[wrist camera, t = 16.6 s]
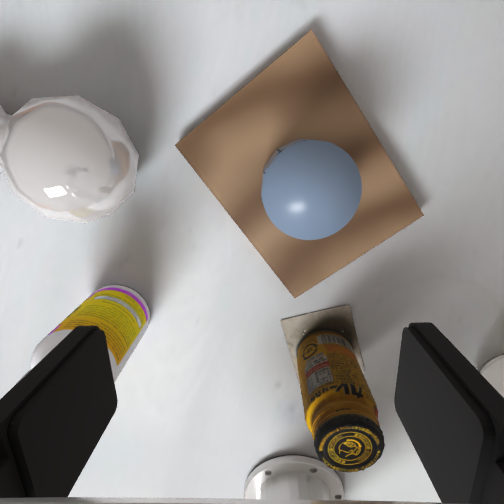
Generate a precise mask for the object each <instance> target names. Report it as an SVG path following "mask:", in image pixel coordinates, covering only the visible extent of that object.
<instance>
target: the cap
mask: <svg viewBox="0 0 504 504" xmlns="http://www.w3.org/2000/svg"><path fill="white" fill-rule="evenodd" d="M278 150H279V151H277V150H275V152H274V153H273V155H272V156H271V157H270V159H269V160H268V162H267V163H266V164H265V166H264V168H263V177H262V186H261V200H262V202H263V204H264V208H265V211H266V213H267V215H268V217H269V219H270V220H271V221H272V223H273V224H274V225H275V226H276V227H277V228H278V229H279V230H281V231H282V232H283V233H285V234H287V235H289V236H291V237H294V238H297V239H302V240H317V239H322V238H325V237H328V236H330V235H332V234H334V233H336V232H338V231H339V230H341V229H342V228H343V227H344V226H345V225H346V224H347V223H348V222H349V221H350V220H351V218H352V217H353V216H354V214H355V212H356V210H357V208H358V206H359V203H360V199H361V194H362V182H361V176H360V172H359V170H358V167H357V165H356V164H355V162H354V160H353V159H352V158H351V156H350V155H349V154H348V153H347V152H345V151H344V150H343V149H341V148H340V147H338V146H336V145H335V144H333V143H330V142H328V141H320V140H309V139H298V140H294V141H292V142H290V143H288V144H286V145H284V146H281V147H279V148H278Z"/></svg>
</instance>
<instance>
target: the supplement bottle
mask: <svg viewBox="0 0 504 504" xmlns="http://www.w3.org/2000/svg"><path fill="white" fill-rule="evenodd" d="M149 321H150V312H149V308H148V306H147V304H146V302H145V300H144V299H143V298H142V297H141V296H140V295H139V294H138V293H137V292H135V291H134V290H132V289H130V288H128V287H125V286H120V285H109V286H105V287H102V288H100V289H98V290H97V291H95V292H94V293H93V294H92V295H91V296H90V297H88V298H87V299H86V300H85V301H84V302H83V303H82V304H81V305H80V306H79V307H78V308H77V309H75V310H74V311H73V312H72V313H71V314H70V315H69V316H68V317H67V318H66V319H65V320H64V321H62V322H61V323H60V324H59V325H58V326H57V327H56V328H55V329H54V330H53V331H52V332H50V333H49V334H48V335H47V336H46V337H45V338H44V339H43V340H42V341H41V342H40V343H39V344H38V345H37V346H36V348H35V350H34V352H33V354H32V357H31V361H30V370H29V371H31V370H32V369H33V368H34V367H35V366H36V365H37V364H38V363H39V362H40V361H41V360H42V359H43V358H44V357H45V356H46V355H47V354H48V353H49V352H50V351H51V350H52V349H53V348H55V347H56V346H57V345H58V344H59V343H60V342H61V341H62V340H63V339H64V338H65V337H66V336H67V335H68V334H69V333H70V332H71V331H72V330H73V329H74V328H75V327H77V326H98V327H99V328H100V330H103V331H104V332H105V335H106V341H107V346H108V352H109V357H110V363H111V368H112V373H113V379H114V382H115V381H116V379H117V377H118V376H119V374H120V372H121V371H122V369H123V367H124V366H125V364H126V362H127V361H128V359H129V358H130V356H131V354H132V353H133V351H134V349H135V348H136V346H137V345H138V343H139V341H140V340H141V338H142V336H143V335H144V333H145V331H146V329H147V328H148V325H149ZM29 371H28V372H29ZM28 372H27V373H28ZM27 373H26V374H27ZM26 374H25V375H26ZM25 375H24V376H25ZM24 376H23V377H24ZM23 377H22V378H23ZM22 378H21V379H22ZM21 379H20V380H21ZM20 380H19V381H20ZM19 381H18V382H19Z"/></svg>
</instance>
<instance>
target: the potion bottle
mask: <svg viewBox="0 0 504 504" xmlns="http://www.w3.org/2000/svg"><path fill="white" fill-rule="evenodd" d="M138 159H139V154H138V153H137V151H136V149H135V147H134V145H133V143H132V142H131V140H130V138H129V136H128V134H127V132H126V131H125V129H124V127H123V125H122V123H121V121H120V120H119V118H117V117H115V116H114V115H112V114H110V113H108V112H107V111H105V110H103V109H101V108H100V107H98V106H96V105H94V104H93V103H91V102H89V101H87V100H86V99H84V98H82V97H81V96H79V95H75V96H58V97H41V98H32V99H31V100H30V101H28V102H27V103H26V104H25V105H24V106H23V107H22V108H20V109H19V110H18V111H17V112H16V113H15V114H13V115H9V114H6V113H5V111H4V110H3V108H2V107H1V105H0V174H1V173H2V172H3V171H4V174H5V177H6V180H7V183H8V185H9V188H10V191H11V193H12V194H14V195H15V196H16V197H18V198H19V199H21V200H22V201H23V202H25V203H26V204H28V205H29V206H30V207H32V208H33V209H35V210H36V211H37V212H39V213H40V214H42V215H43V216H44V217H47V218H53V219H59V220H65V221H71V222H79V223H88V222H91V221H94V220H98V219H101V218H104V217H107V216H109V215H111V214H112V213H113V212H114V211H115V210H116V209H117V208H118V207H119V206H120V205H121V204H122V203H123V202H124V201H125V200H126V199H127V198H128V197H129V196H130V195H131V194H132V193H133V192H134V191H135V184H136V176H137V168H138Z"/></svg>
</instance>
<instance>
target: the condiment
mask: <svg viewBox="0 0 504 504" xmlns="http://www.w3.org/2000/svg"><path fill="white" fill-rule="evenodd" d="M281 324H282V328H283V331H284V334H285V338H286V341H287V344H288V348H289V351H290V354H291V357H292V361H293V364H294V367H295V371H296V374H297V377H298V381H299V384H300V388H301V394H302V399H303V406H304V413H305V420H306V423H307V426H308V428H309V430H310V431H311V433H312V437H313V440H314V446H315V449H316V453H317V454H318V457H319V459H320V460H321V461H322V462H323V463H324V464H326V465H327V467H329V468H331V469H334V470H338V471H342V472H355V471H360V470H364V469H365V468H368V467H370V466H372V465H373V464H374V463H375V462H376V461H377V460H378V459H379V458H380V457H381V455H382V452H383V449H384V446H385V444H384V436H383V434H382V433H383V432H382V430H381V429H380V426H379V422H378V410H377V407H376V403H375V401H374V398H373V396H372V394H371V391H370V389H369V387H368V384H367V382H366V380H365V377H364V375H363V373H362V371H364V367H363V363H362V359H361V354H360V350H359V345H358V341H357V336H356V331H355V327H354V322H353V318H352V313H351V309H350V305H346V306H340V307H335V308H330V309H327V310H321V311H317V312H313V313H307V314H305V315H302V316H297V317H292V318H289V319H285V320H281ZM304 330H306V331H305V332H304ZM342 331H344V332H342ZM303 334H304V335H303Z"/></svg>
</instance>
